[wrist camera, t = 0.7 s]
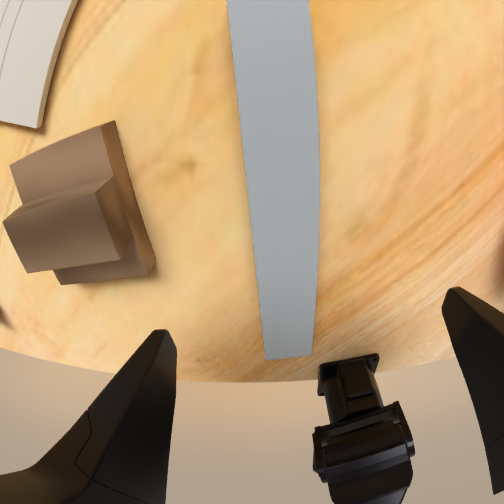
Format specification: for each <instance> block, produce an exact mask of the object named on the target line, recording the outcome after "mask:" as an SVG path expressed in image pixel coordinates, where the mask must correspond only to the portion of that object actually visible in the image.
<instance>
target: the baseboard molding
mask: <svg viewBox="0 0 504 504" xmlns="http://www.w3.org/2000/svg"><path fill="white" fill-rule="evenodd" d="M77 2H78V0H0V120H1V121H4V122H9V123H14V124H18V125H23V126H28V127H32V128H39V127H41V126H42V123H43V117H44V111H45V106H46V101H47V96H48V92H49V87H50V83H51V79H52V75H53V71H54V67H55V64H56V60H57V57H58V54H59V50H60V47H61V44H62V41H63V38H64V35H65V32H66V30H67V27H68V24H69V21H70V19H71V16H72V14H73V11H74V9H75V7H76V4H77Z"/></svg>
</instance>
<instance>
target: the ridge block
mask: <svg viewBox="0 0 504 504" xmlns="http://www.w3.org/2000/svg"><path fill="white" fill-rule="evenodd" d="M9 166H10V169H11V172H12V175H13V178H14V181H15V184H16V187H17V190H18V192H19V195H20V198H21V201H22V203H23V205H22V206H21V207H19V208H18V209H17V210H16V211H14V212H13V213H12V214H11V215H10V216H9V217H7V218H6V219H5V220H4V221H3V224H4V227H5V229H6V231H7V234H8V236H9V238H10V240H11V242H12V244H13V246H14V248H15V250H16V253H17V255H18V256H19V258H20V260H21V262H22V264H23V266H24V268H25V270H26V272H27V273H33V272H40V271H47V270H53V271H54V273H55V275H56V277H57V279H58V281H59V282H60V284H61V285H68V284H77V283H86V282H96V281H105V280H114V279H123V278H131V277H140V276H149V274H150V271H151V269H152V267H153V264H154V262H155V259H156V257H155V255H154V252H153V249H152V246H151V243H150V241H149V238H148V235H147V232H146V229H145V226H144V223H143V220H142V217H141V214H140V211H139V207H138V204H137V201H136V198H135V194H134V191H133V188H132V184H131V181H130V178H129V174H128V171H127V167H126V163H125V160H124V156H123V152H122V148H121V144H120V140H119V136H118V132H117V128H116V124H115V120H114V121H111V122H108V123H105V124H102V125H99V126H96V127H94V128H91V129H88V130H86V131H83V132H80V133H78V134H75V135H73V136H70V137H68V138H65V139H63V140H60V141H58V142H56V143H53V144H51V145H49V146H47V147H44V148H42V149H40V150H38V151H36V152H34V153H32V154H29V155H27V156H25V157H24V158H22V159H20V160H18V161H16V162H15V163H13V164H11V165H9Z"/></svg>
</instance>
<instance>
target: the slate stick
mask: <svg viewBox="0 0 504 504" xmlns="http://www.w3.org/2000/svg"><path fill="white" fill-rule="evenodd" d="M227 8H228V17H229V26H230V35H231V44H232V53H233V62H234V71H235V80H236V89H237V98H238V108H239V117H240V126H241V135H242V144H243V154H244V163H245V172H246V181H247V191H248V200H249V209H250V219H251V228H252V237H253V247H254V256H255V266H256V275H257V285H258V294H259V304H260V313H261V323H262V332H263V342H264V351H265V360H274V359H284V358H294V357H302V356H310V355H311V354H312V344H313V332H314V320H315V306H316V291H317V272H318V249H319V208H320V165H319V125H318V103H317V85H316V71H315V58H314V47H313V36H312V27H311V18H310V10H309V2H308V0H227Z"/></svg>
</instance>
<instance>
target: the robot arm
mask: <svg viewBox="0 0 504 504" xmlns="http://www.w3.org/2000/svg"><path fill="white" fill-rule="evenodd" d="M442 315H443V317H444V320H445V323H446V327H447V330H448V333H449V336H450V339H451V343H452V346H453V349H454V352H455V354H456V357H457V359H458V362H459V365H460V368H461V370H462V373H463V376H464V378H465V381H466V384H467V387H468V390H469V393H470V396H471V399H472V402H473V405H474V409H475V412H476V415H477V419H478V422H479V426H480V430H481V434H482V438H483V442H484V446H485V451H486V456H487V460H488V465H489V471H490V476H491V482H492V489H493V494H494V495H495V494H497V493H499V492H501V491H504V313H502V312H500V311H499V310H497V309H496V308H494V307H493V306H491V305H489V304H488V303H486V302H484V301H483V300H481V299H480V298H478V297H476V296H475V295H473V294H471V293H470V292H468V291H466V290H464V289H463V288H461V287H453V288H450V289H449V290H448V291H447V293H446V296H445V299H444V302H443V305H442ZM379 359H380V357H379V355H378V354H372V355H367V356H363V357H358V358H353V359H348V360H343V361H337V362H332V363H326V364H322V365H320V367H319V379H318V390H317V392H318V396H325V399H326V404H327V409H328V414H329V420H330V424H329V425H325V426H321V427H320V426H318V427H315V432H314V433H313V434H312V436H313V444H314V455H313V470H314V471H315V472H316V473H318V474H319V477H320V478H321V481H322V482H323V483H327V482H328V487H329V492H330V496H331V499H332V501H333V502H334V504H401V503H402V500H403V498H404V496H405V493H406V491H407V488H409V486H410V483H411V480H412V475H413V470H412V465H411V460H410V457H412V456H414V455H415V448H414V442H413V438H412V435H411V431H410V429H409V426H408V424H407V421H406V419H405V416H404V414H403V411H402V409H401V406H400V404H399V401H396V402H393V404H390V405H387V406H385V407H384V405H383V402H382V399H381V396H380V392H379V389H378V386H377V383H376V380H375V377H374V373H375V370H376V368H377V365H378V362H379ZM176 365H177V350H176V346H175V344H174V342H173V340H172V338H171V335H170V333H169V332H168V330H166V329H160V330H154V331H153V332H152V333H151V334H150V335H149V336H148V337H147V339H146V340H145V341H144V342H143V343H142V344H141V346H140V347H139V348H138V349H137V350H136V351H135V353H134V354H133V355H132V356H131V357H130V358H129V360H128V361H127V362H126V363H125V364H124V366H123V367H122V368H121V369H120V370H119V371H118V373H117V374H116V375H115V376H114V378H113V379H112V380H111V381H110V382H109V383H108V385H107V386H106V387H105V388H104V389H103V390H102V392H101V393H100V394H99V395H98V396H97V398H96V399H95V400H94V401H93V403H92V404H91V405H90V406H89V407H88V410H86V411H85V412H84V413H83V414H82V416H81V417H80V418H79V419H78V421H77V422H76V423H75V424H74V425H73V426H72V428H71V429H70V430H69V431H68V432H67V433H66V434H65V435H64V436H63V437H62V438H61V439H60V440H59V441H58V442H57V443H56V444H55V445H54V446H53V447H52V448H51V449H50V450H49V451H48V452H47V453H46V454H45V455H44V456H43V457H42V458H41V459H40V460H39V461H38V462H37V463H36V464H34V465H33V466H31V467H29V468H27V469H25V470H22V471H17V472H13V473H8V474H4V475H0V504H165V499H166V486H167V474H168V463H169V452H170V441H171V433H172V424H173V416H174V408H175V399H176Z"/></svg>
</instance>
